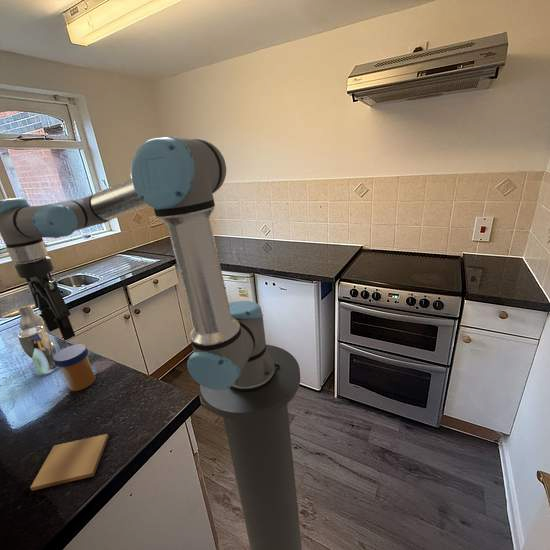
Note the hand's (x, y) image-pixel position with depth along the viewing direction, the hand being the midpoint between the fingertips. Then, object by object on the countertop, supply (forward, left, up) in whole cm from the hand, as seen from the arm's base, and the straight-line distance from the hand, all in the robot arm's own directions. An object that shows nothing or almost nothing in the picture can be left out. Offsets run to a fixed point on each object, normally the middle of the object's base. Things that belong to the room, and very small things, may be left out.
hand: (61, 333), depth 86 cm
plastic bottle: (+19, -19, -18) cm, 32 cm away
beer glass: (+15, -11, -18) cm, 26 cm away
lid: (0, 0, -7) cm, 7 cm away
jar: (0, 0, -18) cm, 18 cm away
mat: (-9, +29, -18) cm, 35 cm away
